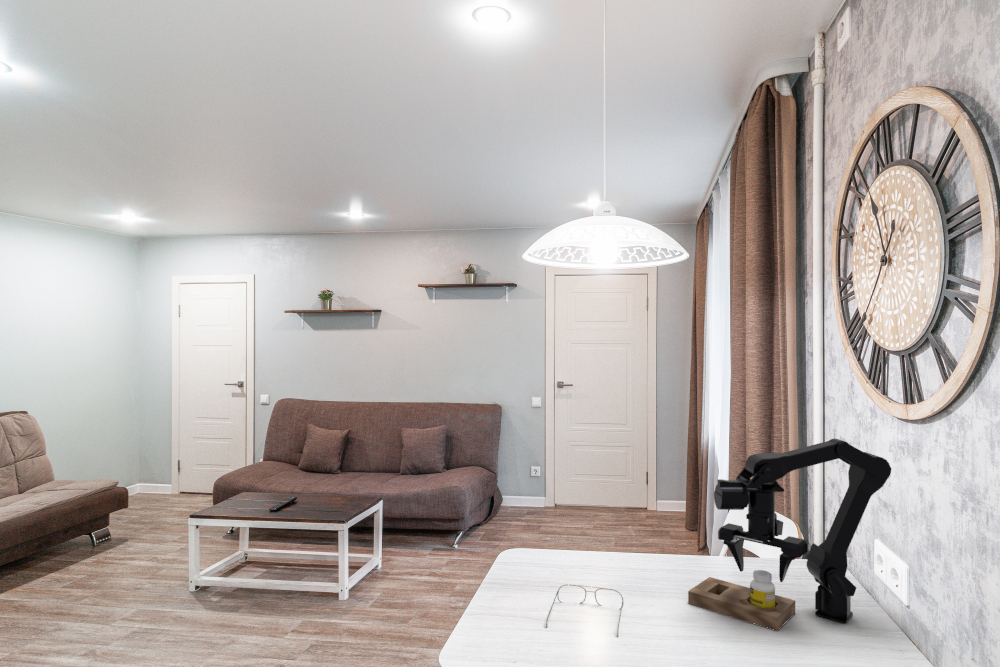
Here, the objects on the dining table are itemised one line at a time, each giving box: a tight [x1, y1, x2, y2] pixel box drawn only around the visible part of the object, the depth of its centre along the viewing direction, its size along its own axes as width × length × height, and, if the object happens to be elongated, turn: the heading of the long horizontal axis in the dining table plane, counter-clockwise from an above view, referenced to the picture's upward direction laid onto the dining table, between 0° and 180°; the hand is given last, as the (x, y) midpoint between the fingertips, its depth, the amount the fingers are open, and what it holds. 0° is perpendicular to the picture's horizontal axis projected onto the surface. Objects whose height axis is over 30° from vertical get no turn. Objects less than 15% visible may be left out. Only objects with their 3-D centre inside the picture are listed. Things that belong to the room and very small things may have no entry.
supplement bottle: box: [749, 569, 776, 608], centre depth 145 cm, size 5×5×10 cm
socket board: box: [687, 576, 796, 631], centre depth 149 cm, size 21×12×3 cm, turn 47°
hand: (761, 576), depth 146 cm, fingers open, 9 cm apart
